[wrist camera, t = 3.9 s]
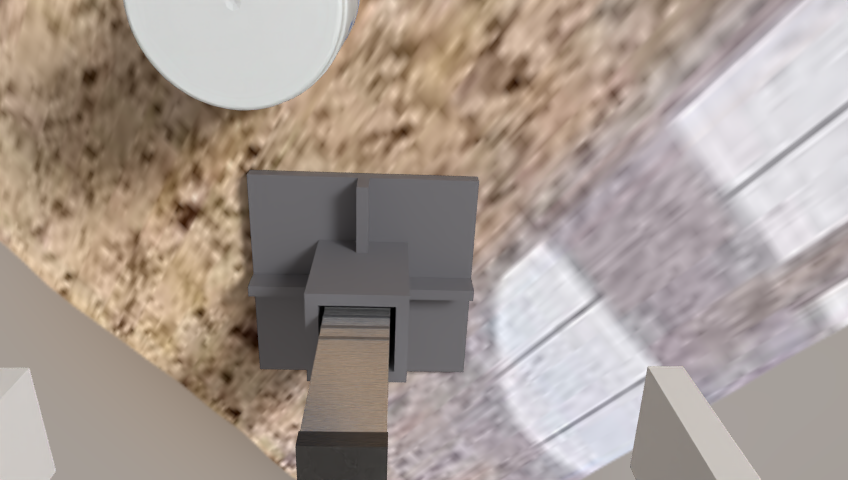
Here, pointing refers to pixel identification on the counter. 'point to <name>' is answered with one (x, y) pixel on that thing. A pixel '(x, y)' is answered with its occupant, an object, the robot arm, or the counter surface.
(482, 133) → the counter surface
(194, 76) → the supplement tub
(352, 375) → the post
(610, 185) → the counter surface
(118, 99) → the counter surface
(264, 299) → the jack base
